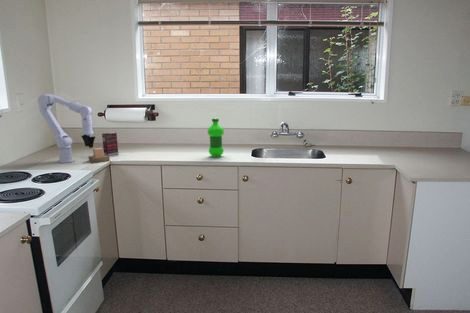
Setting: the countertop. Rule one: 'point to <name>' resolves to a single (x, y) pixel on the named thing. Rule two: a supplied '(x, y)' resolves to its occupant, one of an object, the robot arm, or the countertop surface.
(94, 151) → the terracotta cube
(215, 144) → the plastic bottle
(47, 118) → the robot arm
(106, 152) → the supplement box
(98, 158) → the walnut base
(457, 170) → the countertop surface
